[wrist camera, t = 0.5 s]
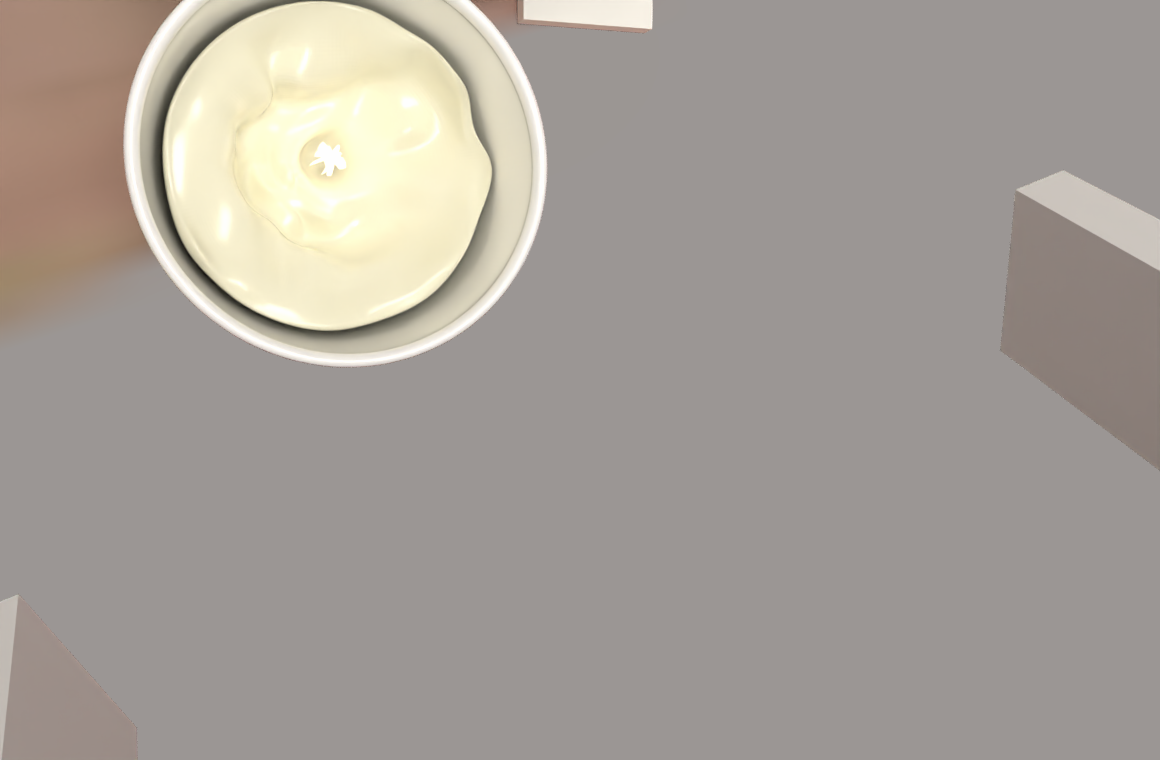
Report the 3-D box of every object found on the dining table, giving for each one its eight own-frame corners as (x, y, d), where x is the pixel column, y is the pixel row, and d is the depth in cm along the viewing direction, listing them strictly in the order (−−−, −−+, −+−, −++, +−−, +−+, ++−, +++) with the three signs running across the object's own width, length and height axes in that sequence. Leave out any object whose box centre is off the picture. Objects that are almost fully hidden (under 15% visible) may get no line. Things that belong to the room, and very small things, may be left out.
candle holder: (397, 9, 35) (477, -101, 23) (485, 275, 37) (596, 291, 26) (110, 84, 32) (46, 1, 21) (224, 366, 34) (222, 428, 23)
